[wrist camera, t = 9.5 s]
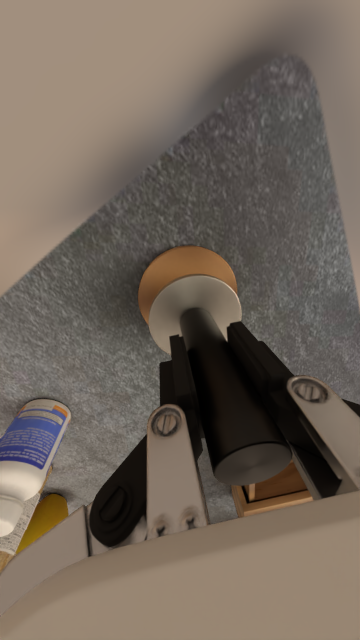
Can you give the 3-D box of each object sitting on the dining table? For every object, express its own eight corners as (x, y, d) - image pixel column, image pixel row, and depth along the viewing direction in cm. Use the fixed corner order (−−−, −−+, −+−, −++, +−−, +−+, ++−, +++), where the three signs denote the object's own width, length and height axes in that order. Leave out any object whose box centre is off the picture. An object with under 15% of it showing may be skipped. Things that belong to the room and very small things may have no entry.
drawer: (228, 403, 24) (243, 442, 20) (321, 383, 24) (356, 417, 20) (233, 469, 32) (245, 506, 28) (302, 454, 32) (324, 488, 28)
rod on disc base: (137, 284, 12) (92, 421, 4) (237, 263, 12) (414, 350, 4) (160, 362, 15) (165, 531, 7) (239, 345, 16) (339, 490, 7)
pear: (64, 507, 34) (39, 581, 27) (28, 499, 31) (-9, 579, 24) (84, 492, 32) (64, 567, 25) (48, 483, 30) (15, 564, 23)
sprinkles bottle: (34, 476, 28) (-55, 659, 16) (11, 463, 26) (-111, 661, 14) (60, 467, 28) (-11, 647, 16) (39, 453, 26) (-61, 648, 14)
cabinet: (228, 460, 32) (243, 512, 27) (303, 443, 33) (335, 491, 27) (232, 494, 39) (244, 541, 34) (294, 481, 40) (317, 525, 34)
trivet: (125, 257, 15) (123, 259, 14) (232, 235, 15) (235, 235, 15) (152, 344, 19) (152, 349, 19) (235, 327, 20) (238, 331, 19)
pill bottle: (15, 399, 21) (-84, 521, 12) (66, 395, 21) (5, 510, 13) (32, 428, 23) (-40, 547, 15) (77, 424, 24) (32, 537, 15)
